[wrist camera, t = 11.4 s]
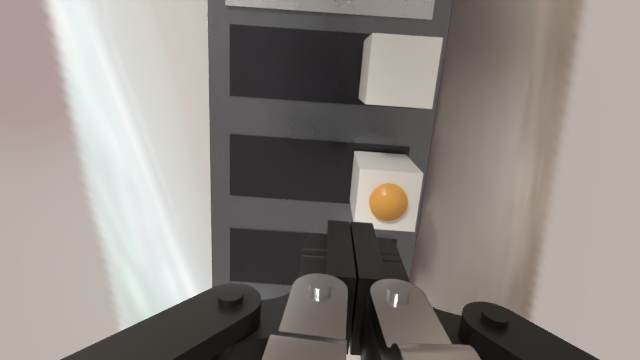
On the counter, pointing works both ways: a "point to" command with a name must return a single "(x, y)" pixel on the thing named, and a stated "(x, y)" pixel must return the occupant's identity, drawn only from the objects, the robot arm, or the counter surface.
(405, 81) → the block
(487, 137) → the counter surface
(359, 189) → the block
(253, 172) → the panel
